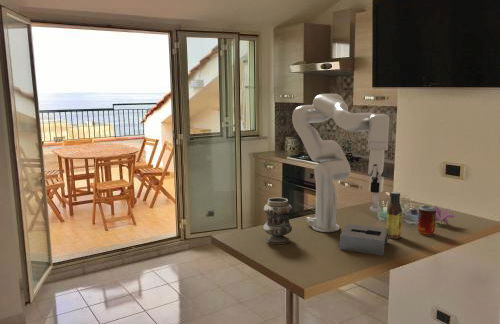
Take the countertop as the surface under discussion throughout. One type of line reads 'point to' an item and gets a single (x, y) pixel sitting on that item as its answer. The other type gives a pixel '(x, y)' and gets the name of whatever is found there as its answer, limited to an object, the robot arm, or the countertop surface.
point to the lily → (443, 215)
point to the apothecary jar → (277, 220)
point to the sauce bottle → (394, 216)
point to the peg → (376, 195)
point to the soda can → (426, 220)
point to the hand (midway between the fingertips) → (375, 190)
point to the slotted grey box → (364, 239)
